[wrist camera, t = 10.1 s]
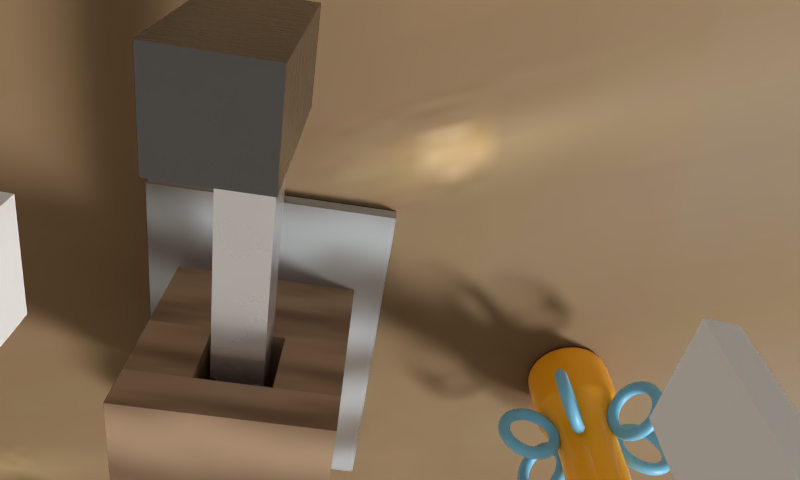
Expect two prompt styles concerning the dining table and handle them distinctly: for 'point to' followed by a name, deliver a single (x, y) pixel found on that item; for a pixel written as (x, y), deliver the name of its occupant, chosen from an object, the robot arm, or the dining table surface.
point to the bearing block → (291, 353)
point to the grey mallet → (230, 147)
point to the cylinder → (581, 420)
